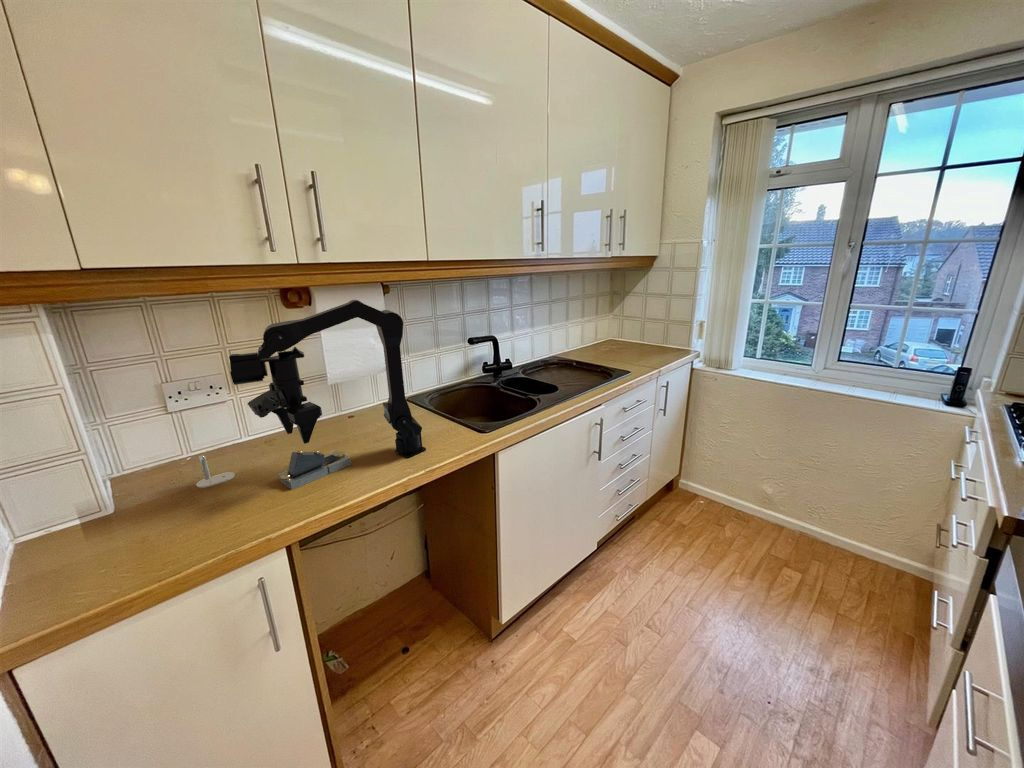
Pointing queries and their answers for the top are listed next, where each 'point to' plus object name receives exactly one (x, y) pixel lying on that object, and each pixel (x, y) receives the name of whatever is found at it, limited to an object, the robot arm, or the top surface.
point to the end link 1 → (301, 477)
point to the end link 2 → (336, 461)
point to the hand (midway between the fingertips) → (297, 438)
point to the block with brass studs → (305, 462)
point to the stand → (212, 479)
